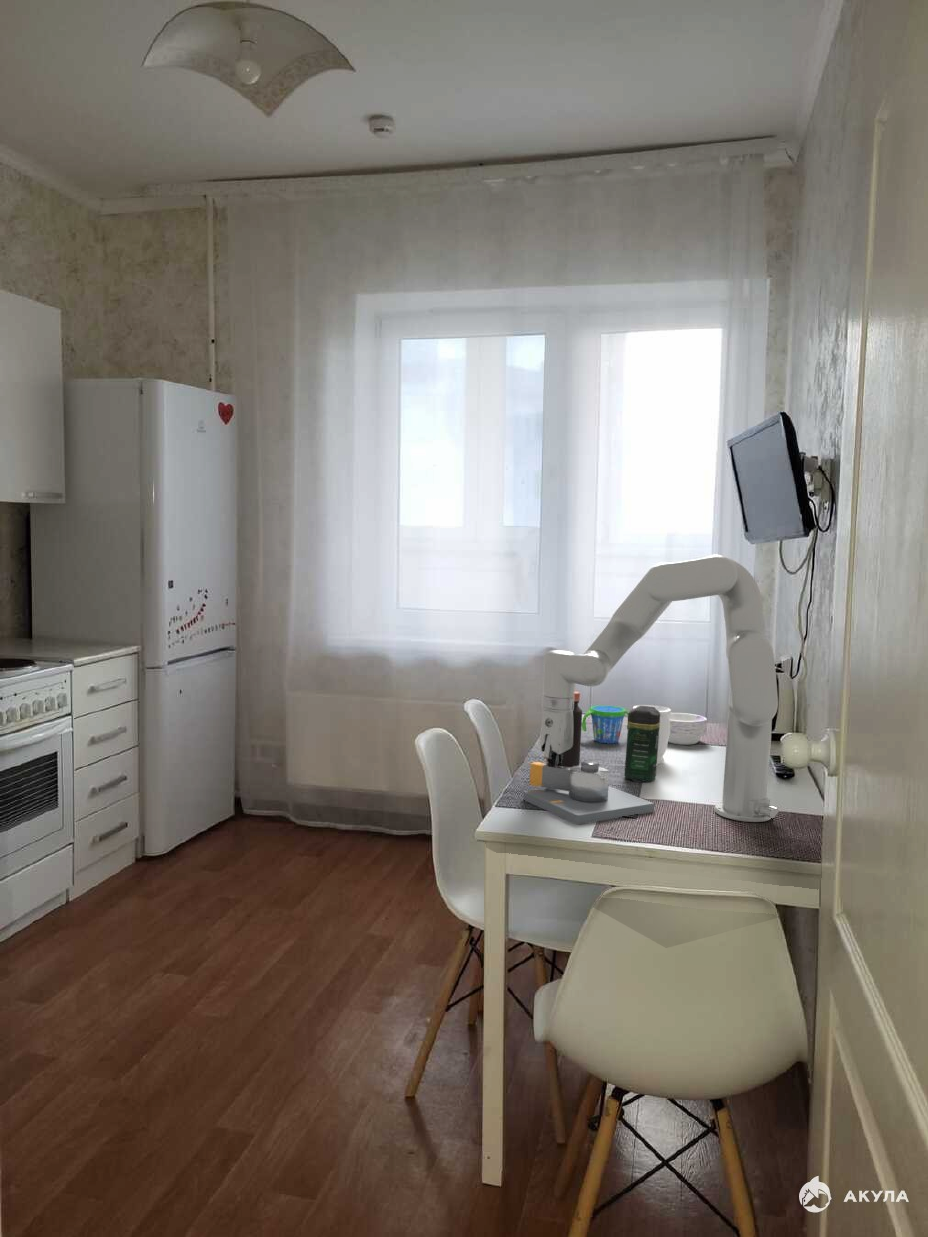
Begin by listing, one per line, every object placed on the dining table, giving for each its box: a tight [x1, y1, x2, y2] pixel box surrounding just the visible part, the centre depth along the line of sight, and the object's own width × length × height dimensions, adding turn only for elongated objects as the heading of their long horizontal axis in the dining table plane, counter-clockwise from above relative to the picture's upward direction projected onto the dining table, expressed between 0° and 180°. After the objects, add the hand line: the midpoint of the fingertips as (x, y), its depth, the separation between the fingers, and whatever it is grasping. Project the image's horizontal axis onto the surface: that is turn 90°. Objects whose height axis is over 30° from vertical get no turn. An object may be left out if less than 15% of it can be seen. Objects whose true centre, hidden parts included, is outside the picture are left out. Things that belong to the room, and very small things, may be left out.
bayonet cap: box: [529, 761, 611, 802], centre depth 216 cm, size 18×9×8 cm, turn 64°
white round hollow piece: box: [668, 712, 708, 746], centre depth 287 cm, size 15×15×8 cm
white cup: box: [632, 704, 672, 765], centre depth 260 cm, size 11×10×15 cm
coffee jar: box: [624, 706, 660, 783], centre depth 241 cm, size 10×8×19 cm
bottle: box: [562, 690, 583, 767], centre depth 250 cm, size 7×7×20 cm
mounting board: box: [522, 785, 655, 826], centre depth 214 cm, size 20×22×2 cm
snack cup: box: [581, 704, 630, 745], centre depth 283 cm, size 16×10×10 cm
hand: (553, 779), depth 222 cm, fingers closed
